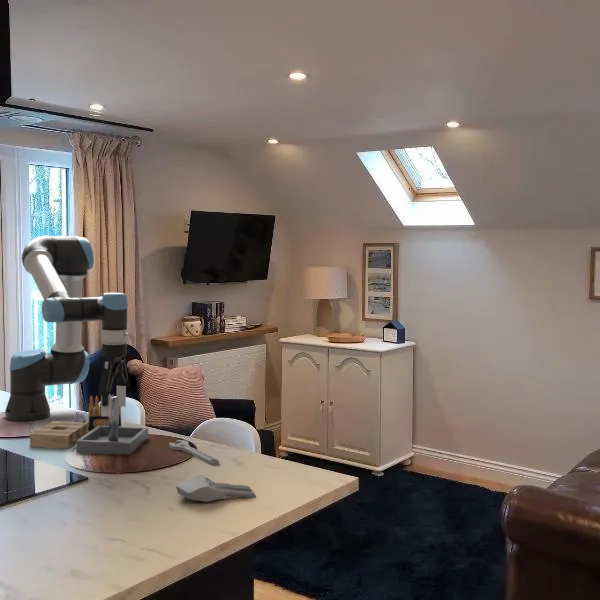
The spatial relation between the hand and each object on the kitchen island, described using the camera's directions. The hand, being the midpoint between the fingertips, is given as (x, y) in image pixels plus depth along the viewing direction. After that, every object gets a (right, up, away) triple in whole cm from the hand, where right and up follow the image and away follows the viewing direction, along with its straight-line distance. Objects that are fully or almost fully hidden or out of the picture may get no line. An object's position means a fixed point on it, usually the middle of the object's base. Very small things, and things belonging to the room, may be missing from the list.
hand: (113, 411), depth 219 cm
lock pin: (0, -10, +1) cm, 10 cm away
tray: (0, -11, +1) cm, 11 cm away
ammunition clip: (-8, -9, +18) cm, 22 cm away
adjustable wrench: (+25, -13, -6) cm, 29 cm away
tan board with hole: (-18, -10, +4) cm, 21 cm away
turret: (+36, -15, -41) cm, 57 cm away
